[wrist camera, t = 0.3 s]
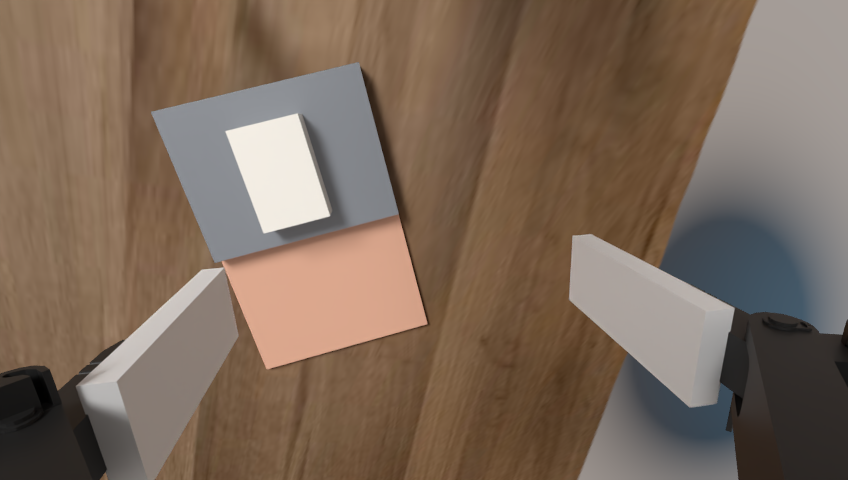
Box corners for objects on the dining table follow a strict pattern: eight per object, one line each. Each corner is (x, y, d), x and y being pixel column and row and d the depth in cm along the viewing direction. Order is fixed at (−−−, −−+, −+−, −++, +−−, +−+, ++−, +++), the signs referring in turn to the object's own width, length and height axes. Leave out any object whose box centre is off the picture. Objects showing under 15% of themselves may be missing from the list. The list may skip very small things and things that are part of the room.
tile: (234, 130, 36) (225, 131, 33) (302, 113, 36) (297, 113, 34) (270, 226, 38) (263, 233, 36) (332, 210, 39) (330, 216, 36)
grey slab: (162, 112, 36) (150, 112, 34) (359, 65, 37) (358, 62, 36) (222, 256, 41) (214, 262, 39) (397, 209, 42) (398, 214, 40)
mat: (222, 258, 41) (220, 259, 40) (397, 211, 42) (398, 212, 41) (267, 366, 45) (266, 369, 44) (426, 321, 46) (427, 324, 45)
